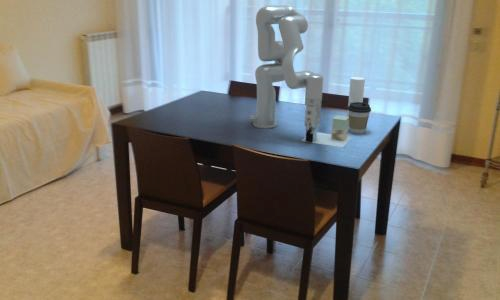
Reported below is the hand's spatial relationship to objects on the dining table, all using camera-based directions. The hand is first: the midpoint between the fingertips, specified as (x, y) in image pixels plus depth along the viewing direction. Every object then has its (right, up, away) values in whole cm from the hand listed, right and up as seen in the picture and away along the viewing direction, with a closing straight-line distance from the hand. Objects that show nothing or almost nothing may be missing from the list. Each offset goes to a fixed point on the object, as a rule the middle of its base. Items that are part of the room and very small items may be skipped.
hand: (311, 139), depth 225 cm
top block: (+14, +5, +2) cm, 15 cm away
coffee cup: (+25, +3, +15) cm, 29 cm away
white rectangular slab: (+8, -1, +3) cm, 8 cm away
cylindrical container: (+26, +8, +28) cm, 39 cm away
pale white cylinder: (0, 0, 0) cm, 0 cm away
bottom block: (+14, +1, +4) cm, 14 cm away
